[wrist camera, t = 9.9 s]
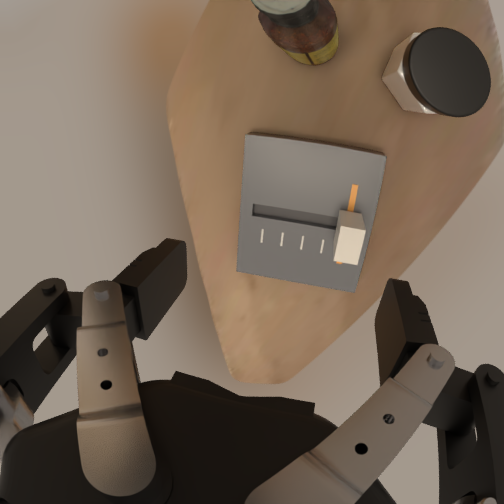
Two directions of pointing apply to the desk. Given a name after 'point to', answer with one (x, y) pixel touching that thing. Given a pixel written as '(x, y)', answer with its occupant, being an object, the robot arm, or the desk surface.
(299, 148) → the fader console
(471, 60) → the jar
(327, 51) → the sauce bottle
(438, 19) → the desk surface
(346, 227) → the fader tab
